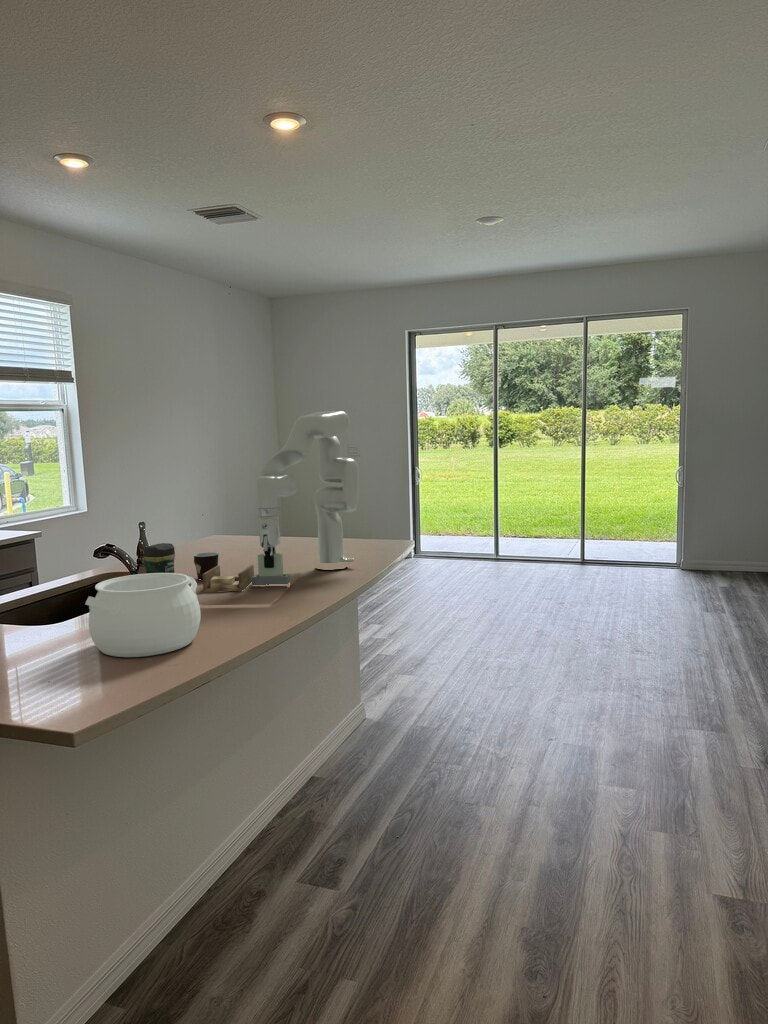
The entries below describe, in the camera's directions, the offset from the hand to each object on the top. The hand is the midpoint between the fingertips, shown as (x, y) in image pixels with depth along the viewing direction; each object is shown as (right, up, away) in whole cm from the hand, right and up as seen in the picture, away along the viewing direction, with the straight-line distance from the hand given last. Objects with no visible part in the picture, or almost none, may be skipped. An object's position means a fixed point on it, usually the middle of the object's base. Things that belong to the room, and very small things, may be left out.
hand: (270, 566), depth 236 cm
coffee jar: (-32, -10, -14) cm, 37 cm away
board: (0, -7, +1) cm, 7 cm away
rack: (-14, -8, 0) cm, 16 cm away
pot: (-21, -15, -61) cm, 66 cm away
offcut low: (-14, -7, -4) cm, 16 cm away
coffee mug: (-26, -7, +16) cm, 31 cm away
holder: (0, -7, +1) cm, 8 cm away
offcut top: (-15, -5, -4) cm, 17 cm away
